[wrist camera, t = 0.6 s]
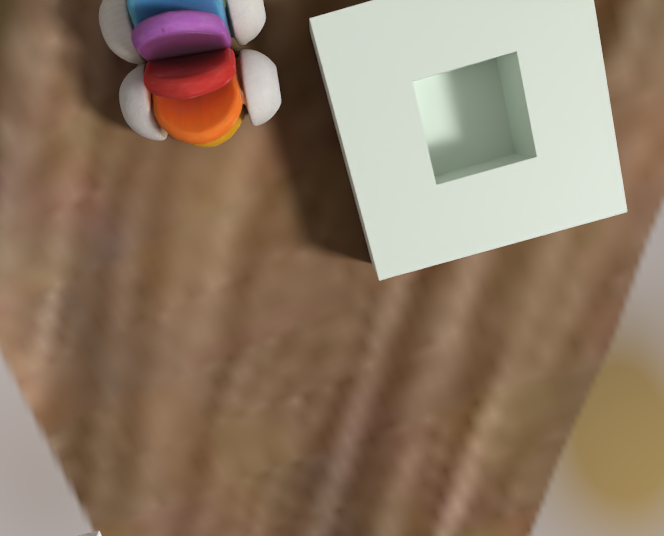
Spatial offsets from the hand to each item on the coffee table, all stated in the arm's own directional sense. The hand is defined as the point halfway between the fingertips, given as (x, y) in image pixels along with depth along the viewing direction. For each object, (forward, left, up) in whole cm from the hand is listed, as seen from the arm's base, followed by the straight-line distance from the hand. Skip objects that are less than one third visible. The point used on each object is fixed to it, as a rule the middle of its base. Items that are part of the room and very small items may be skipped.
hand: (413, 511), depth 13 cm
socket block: (-6, +9, -25) cm, 27 cm away
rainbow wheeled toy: (-13, -5, -26) cm, 29 cm away
